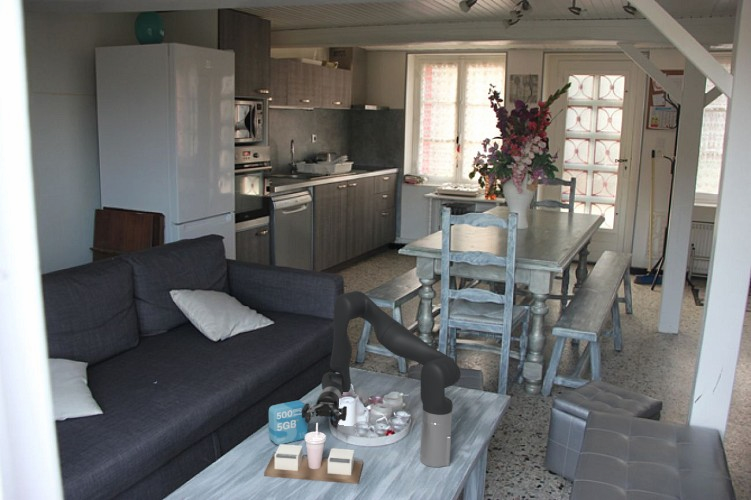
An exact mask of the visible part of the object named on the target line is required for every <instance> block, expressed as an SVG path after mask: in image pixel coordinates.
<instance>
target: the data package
mask: <svg viewBox="0 0 751 500" xmlns="http://www.w3.org/2000/svg"><path fill="white" fill-rule="evenodd" d="M305 404H306V403H305V402H303V401H301V400H294V401H293V400H292V401H288V402H282V403H277V404H273V405H271V406H270V407H269V409H268V438H269V440H270V441H271V442H273V443H274V445H277V446H279V445H280V444H284V445H285V444H288V443H292V442H296V441H301V440H305V435H306V434H307V433H309V429H308V423H306V422H305V418H302V409H303V407H304V406H305Z"/></svg>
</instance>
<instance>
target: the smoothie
mask: <svg viewBox="0 0 751 500" xmlns="http://www.w3.org/2000/svg"><path fill="white" fill-rule="evenodd" d="M315 424H316V425H315V431H310V432H308V433H307V434H306V435H305V439H304V441H305V445H306V455H307V457H308V466H309V468H311V469H318V468H320V467H321V462H322V456H323V454H324V448H325V442H326V440H327V435H326V434H325V433H323V432H321V431H319V422H316V423H315Z"/></svg>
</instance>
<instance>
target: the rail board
mask: <svg viewBox="0 0 751 500" xmlns="http://www.w3.org/2000/svg"><path fill="white" fill-rule="evenodd" d="M363 465H364V459H363V458H355V449H346V448H331V449H330V452H329V456H323V455H322V462H321V467H320V468H318V469H311V468H309V466H308V457H307V454H303V445H293V444H285V443H284V444H280V445H278V448H277V449H276V452H273V453H272V456H271V458H270V460H269V462H268V464H267V465H266V468H265V470H264V473H263V474H264V475H263V476H264V477H269V478H270V477H271V478H283V479H284V478H286V479H293V480H294V479H296V480H305V481H306V480H310V481H318V482H319V481H321V482H332V483H343V484H353V485H355V484H356V485H357V484H358V485H359V482H360V478H361V474H362V470H363Z"/></svg>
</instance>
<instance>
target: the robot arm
mask: <svg viewBox="0 0 751 500" xmlns="http://www.w3.org/2000/svg"><path fill="white" fill-rule="evenodd" d="M358 318H361V319H363V320H364V321H366V322H367V323H368V324H370V326H372V327H373V330H374V335H375V338H376V340H377V341H378V343H379V344H380V345H381V346H382V347H384V348H385V349H387V350H388V351H389V352H390V353H392V354H393V355H394V356H397V357H399V358H403V359H406V360H409V361H412V362H415V363H418V364H420V365H421V366H422V368H421V371H420V399H421V402H422V403H421V404H422V413H421V434H420V448H419V461H420V462H421V464H422V465H425V466H428V467H432V468H441V467H446V466H447V467H449V466H450V462H451V461H450V458H451V442H452V418H453V407H454V405H453V401H452V399H451V398H449V397H448V396H445V393H446V388H449V387H452V386H454V385H455V384H456V383H458V382H459V380H460V378H461V369H460V366H459V365H458V363H457V362H456V361H455V360H454V359H453V358H452V357H450V356H449V355H447V354H445V353H444V352H441V351H440V350H438V349H436V348H435V347H434V346H431V345H430V344H428V343H427V342H425V341H424V340H423V339H422V338H421V337H419V336H418V335H416V334H415V333H413V332H412V331H410V329H408V328H407V327H405V325H403V324H402V323H400V322H399V321H397V320H396V319H395V318H393V317H392V316H390V314H388V313H387V312H386V311H384V310H383V309H382V308H380V306H378V305H377V303H375V302H374V301H373V300H372V299H371V298H370V297H369V296H367V294H365V293H364V292H362V291H360V290H353V291H350V292H346V293H342V294H340V295H337V297H336V298H335V300H334V305H333V340H332V341H333V343H332V344H333V345H332V350H331V355H330V361H329V367H330V369H331V370H332V371H334V372H332V371H328V372H326V373H324V374H323V376H322V378H321V389H322V390H321V392H320V394H319V396H318V398H317V400H316V403H315V404H314V405H310V403H304V404H305V406H304V407H303V409H302V418H305V422H306V423H308V424H309V425H310V422H311V419H317V418H321V417H324V418H330V419H332V421H333V424H332V425H333V426H337V425H338V424H339V423H340V421H343V422H345V421H346V420H347V415H348V407H347V406H345V405H343V407H340V406H339V398H340V397H341V396H342V397H343V395H342V394H343V392H348V393H349V392H350V390H351V388H352V380H351V373H350V366H351V359H352V355H353V346H352V343H351V340H350V337H349V334H348V327H349V325H350V321H351V320H355V319H358Z"/></svg>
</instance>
